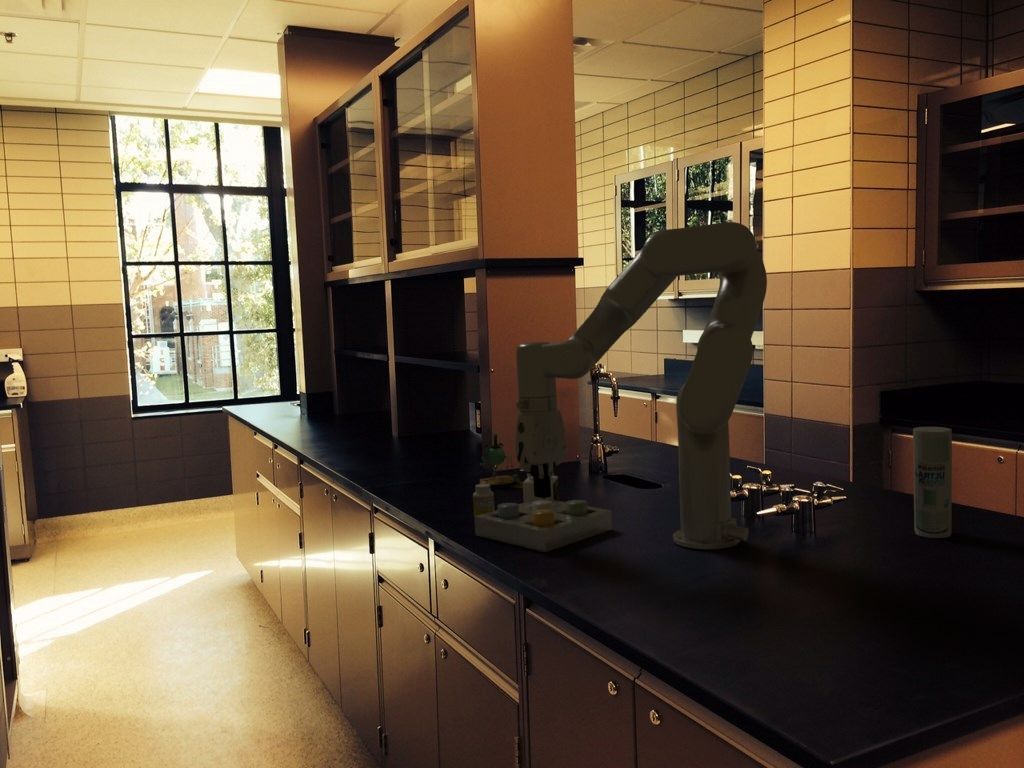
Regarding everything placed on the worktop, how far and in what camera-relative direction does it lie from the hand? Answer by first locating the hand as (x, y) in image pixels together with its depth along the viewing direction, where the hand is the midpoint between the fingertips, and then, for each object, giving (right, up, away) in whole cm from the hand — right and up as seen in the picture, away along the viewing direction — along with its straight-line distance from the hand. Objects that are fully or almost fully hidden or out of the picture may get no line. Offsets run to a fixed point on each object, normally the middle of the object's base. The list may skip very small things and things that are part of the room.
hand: (542, 496), depth 164 cm
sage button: (+7, -6, +7) cm, 12 cm away
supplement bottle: (-12, -8, +17) cm, 23 cm away
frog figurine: (-9, -5, +56) cm, 57 cm away
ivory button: (+1, -7, +14) cm, 16 cm away
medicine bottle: (+1, -7, +27) cm, 28 cm away
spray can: (+74, -6, -7) cm, 74 cm away
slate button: (-7, -7, +7) cm, 12 cm away
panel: (0, -8, +7) cm, 11 cm away
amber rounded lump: (0, -7, 0) cm, 7 cm away
